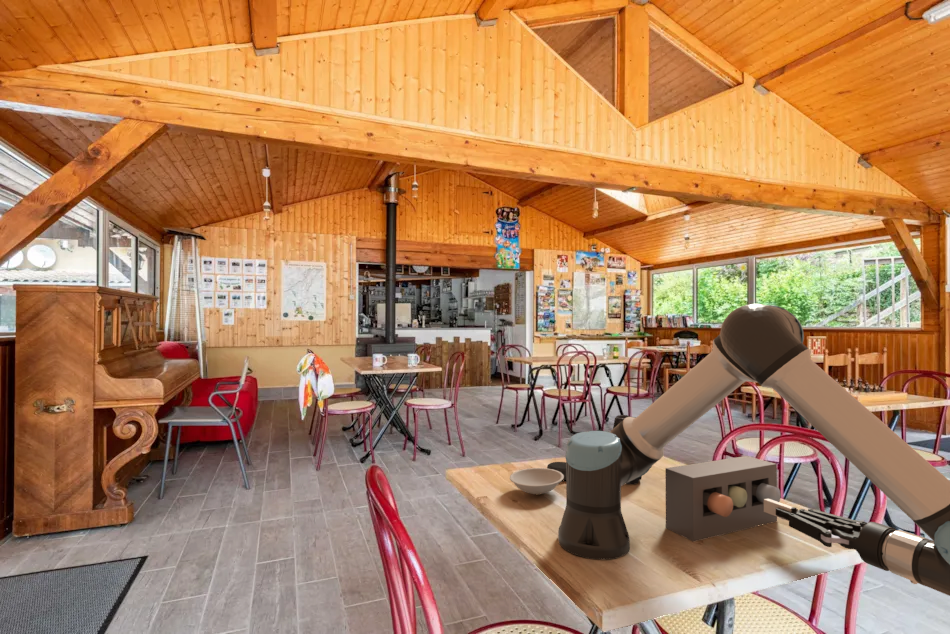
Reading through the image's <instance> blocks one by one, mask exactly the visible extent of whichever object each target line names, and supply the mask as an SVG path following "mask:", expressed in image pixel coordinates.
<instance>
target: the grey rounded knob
mask: <svg viewBox="0 0 950 634" xmlns="http://www.w3.org/2000/svg"><path fill="white" fill-rule="evenodd" d="M752 495H754V496H756V497H757V499H758V501H760V502H763V503H764V499H771V500H774V501H777V502H780V501H781V490H780V488H778V487H774V486H771V485H768V484H765V483H761V484H760V485H759V486H758V485H755V484H752Z"/></svg>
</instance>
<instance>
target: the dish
mask: <svg viewBox="0 0 950 634" xmlns="http://www.w3.org/2000/svg"><path fill="white" fill-rule="evenodd" d="M563 479H564V475H563V474H562V473H561V472H559V471H557V470H553V469H548V468H547V467H546V468H545V467H531V468H530V467H528V468H523V469H519V470H516V471H514V472H513V473H511V474H510V475H509V480H510V482H512V483H513V484H514V485H515V486H516V487H517V488H518V490H521V491H522V492H524V493H525V494H527V493H528V494H531V495H535V494H539V495H541V494H547V493H550V492H551V491H553V490H554V489H555V488H556V487H557V486H559V484H560V483H561V482H563V481H562V480H563Z"/></svg>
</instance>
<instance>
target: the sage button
mask: <svg viewBox="0 0 950 634" xmlns="http://www.w3.org/2000/svg"><path fill="white" fill-rule="evenodd" d="M715 492H716V488H715ZM728 497H730V498H731V499H732V501H733V505H734V506H737V507H743V506H744V505H745V503H746V501H747V492H746V490H745V489H743V488H740V487H737V486H734V485H728Z"/></svg>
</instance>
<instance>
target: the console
mask: <svg viewBox="0 0 950 634" xmlns="http://www.w3.org/2000/svg"><path fill="white" fill-rule="evenodd" d="M777 468H778V467H777V463H774V462H771V461H768V460H764V459H761V458H756V457H753V456H749V455H744V456H738V457H737V456H736V457H730V458H724V459H718V460H717V459H716V460H712V461H704V462H697V463H692V464H686V465H685V464H683V465H679V466H678V465H677V466H671V467H665V529H667V530H669V531H671V532H673V533H675V534H678V536H681V537H684V538H685V539H687V540H689V541H692V542H698V541H702V540H705V539H710V538H714V537H718V536H722V535H727V534H730V533H731V534H732V533H735V532H739V531H745V530H747V529H751V527H752V528H756V527H759V526H758V525H760V526H763V525H762V524H765V525H768V524H767V523H769V524H772V523H771V522H773V523H776V521H777V522H778V517H777V516H774V515H771V514H769V513H766V512H764V503H763V502H760V501H758V499H757V497H756V496H754V495H752V484H755V485H758V486H759V485H760V484H761V483H765V484H768V485H771V486H774V487H777V486H778V481H777V479H778V477H777V475H778V474H777V473H778V469H777ZM728 485H734V486H737V487H740V488H743V489H745V490H746V492H747V501H746V503H745V505H744V506H743V507H737V506H734V505H733V510H732V512H731V514H730V515H729V516H727V517H723V516H721V515H719V514H716V513H714V512H711V511H710V510H709V508H708V506H707V505H705V504H703V493H708V494H712V493H714V492H715V488H716V492H717V493H720V494H722V495H725V496H728ZM777 488H778V487H777ZM755 526H756V527H755Z"/></svg>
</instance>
